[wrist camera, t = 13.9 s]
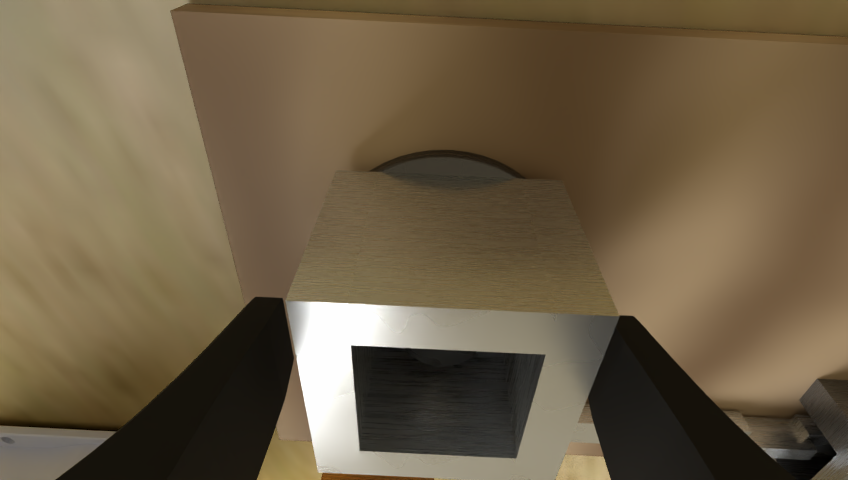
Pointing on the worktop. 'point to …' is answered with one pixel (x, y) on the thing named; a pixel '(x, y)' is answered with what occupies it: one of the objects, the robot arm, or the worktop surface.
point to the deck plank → (562, 164)
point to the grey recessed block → (447, 326)
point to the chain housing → (825, 431)
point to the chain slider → (768, 433)
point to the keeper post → (457, 166)
